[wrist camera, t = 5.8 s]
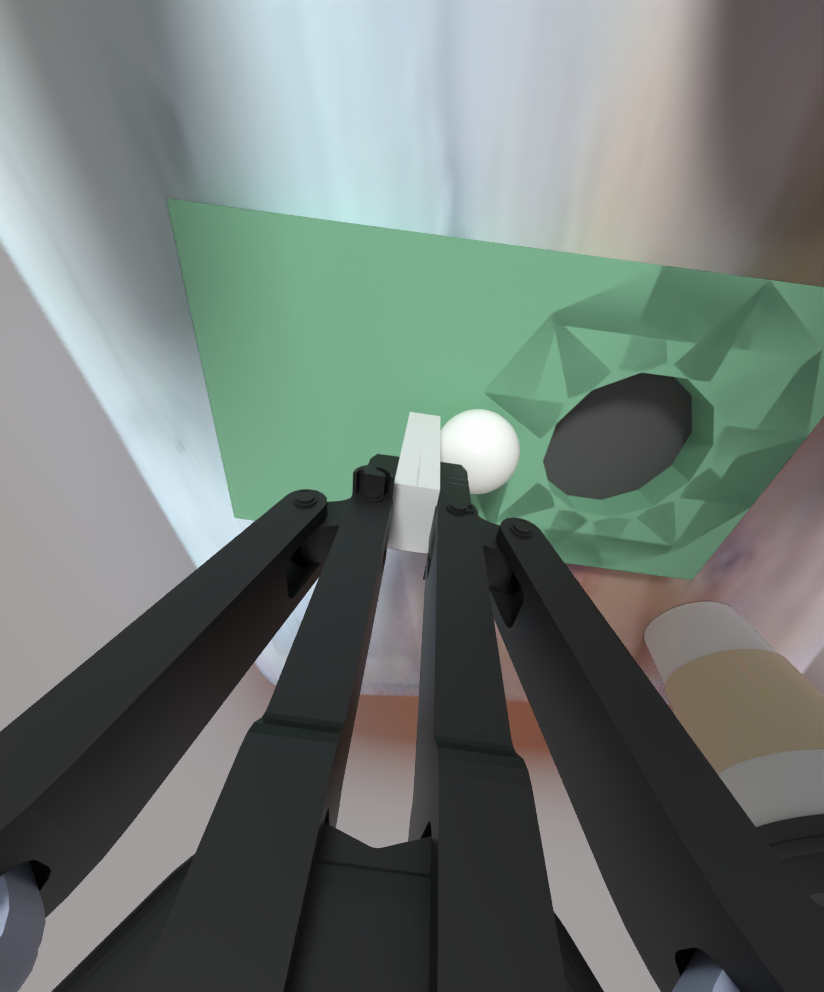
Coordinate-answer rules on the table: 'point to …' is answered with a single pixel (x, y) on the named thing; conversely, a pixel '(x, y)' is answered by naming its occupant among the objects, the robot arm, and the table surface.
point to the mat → (503, 374)
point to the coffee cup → (750, 726)
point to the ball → (481, 448)
